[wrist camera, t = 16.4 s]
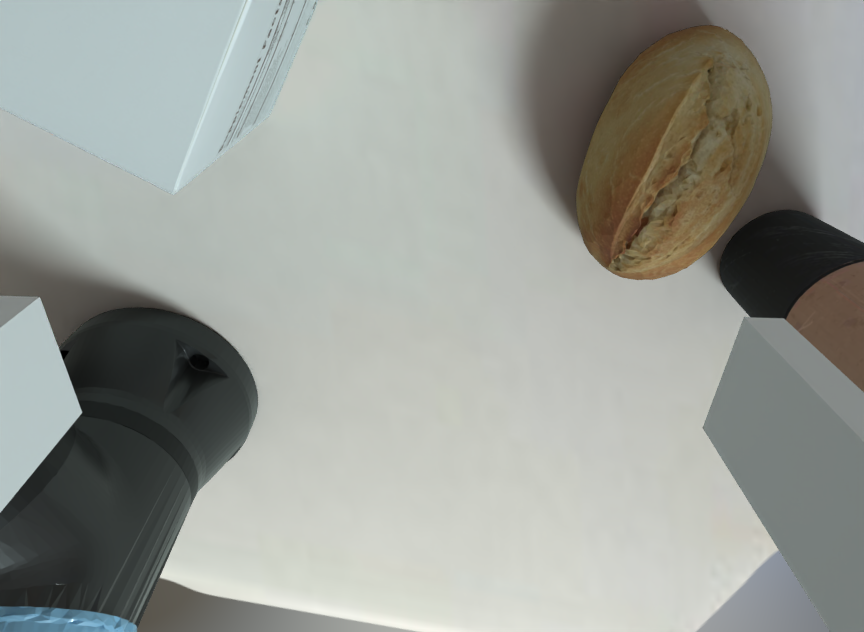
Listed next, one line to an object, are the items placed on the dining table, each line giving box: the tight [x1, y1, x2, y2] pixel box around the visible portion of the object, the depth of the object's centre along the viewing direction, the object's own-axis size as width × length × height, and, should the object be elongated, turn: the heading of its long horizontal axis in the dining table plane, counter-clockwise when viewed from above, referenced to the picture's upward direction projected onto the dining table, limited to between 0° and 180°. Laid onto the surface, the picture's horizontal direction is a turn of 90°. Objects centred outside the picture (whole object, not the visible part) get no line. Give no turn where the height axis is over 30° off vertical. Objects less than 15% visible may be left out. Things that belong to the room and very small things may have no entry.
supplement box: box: [0, 0, 318, 195], centre depth 25 cm, size 9×9×15 cm
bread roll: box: [576, 25, 772, 280], centre depth 32 cm, size 10×15×8 cm, turn 171°
